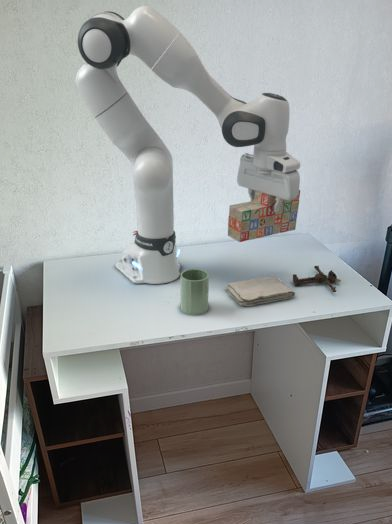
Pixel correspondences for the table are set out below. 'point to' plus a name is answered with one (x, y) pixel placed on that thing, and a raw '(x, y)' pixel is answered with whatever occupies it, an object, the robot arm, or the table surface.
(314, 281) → the brown toy monkey
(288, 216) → the stack of blocks
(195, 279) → the pencil cup
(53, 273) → the table surface
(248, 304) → the washcloth
